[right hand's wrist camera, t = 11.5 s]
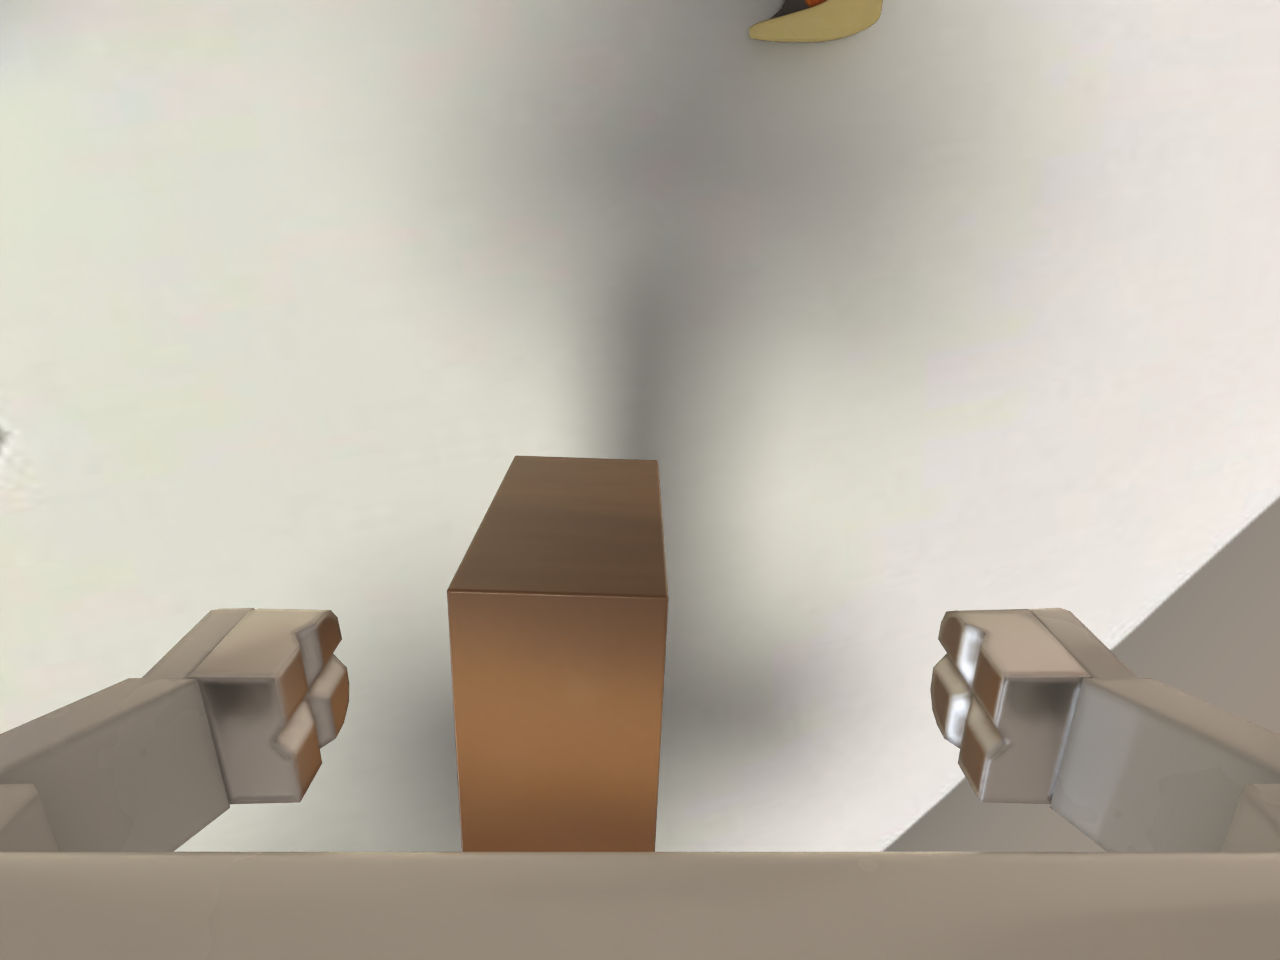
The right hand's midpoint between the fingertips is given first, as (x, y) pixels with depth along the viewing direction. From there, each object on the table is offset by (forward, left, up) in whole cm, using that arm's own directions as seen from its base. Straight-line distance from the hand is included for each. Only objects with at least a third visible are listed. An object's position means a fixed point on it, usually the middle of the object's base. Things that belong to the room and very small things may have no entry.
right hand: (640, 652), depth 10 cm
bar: (+14, -2, -13) cm, 20 cm away
